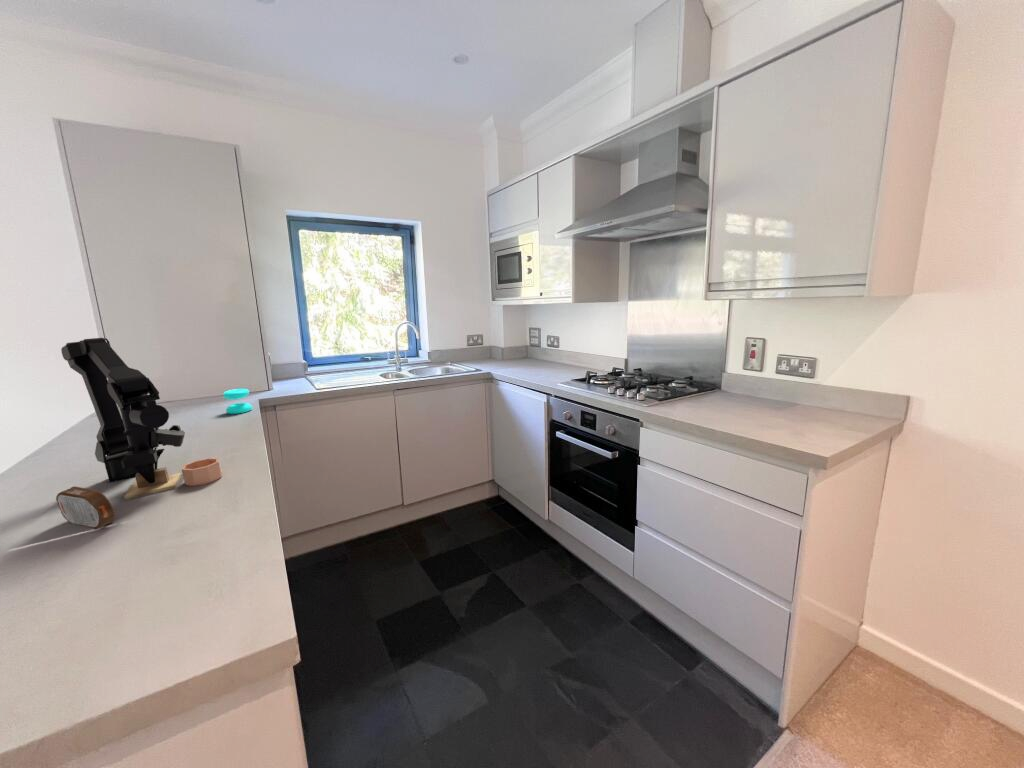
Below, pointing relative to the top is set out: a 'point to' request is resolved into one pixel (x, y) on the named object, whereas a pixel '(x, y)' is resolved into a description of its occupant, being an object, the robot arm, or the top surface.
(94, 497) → the tin
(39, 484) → the top surface
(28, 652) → the top surface
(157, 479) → the lid
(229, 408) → the pair of cyan discs
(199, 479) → the bowl
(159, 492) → the mat
